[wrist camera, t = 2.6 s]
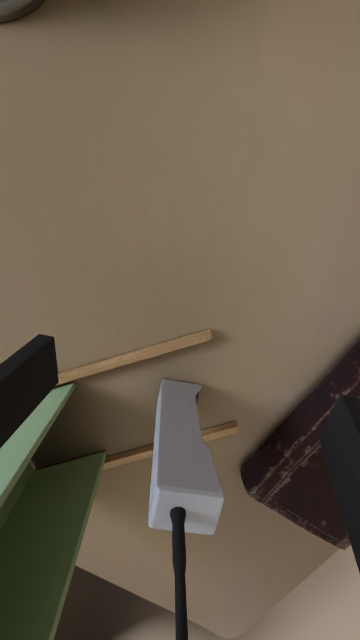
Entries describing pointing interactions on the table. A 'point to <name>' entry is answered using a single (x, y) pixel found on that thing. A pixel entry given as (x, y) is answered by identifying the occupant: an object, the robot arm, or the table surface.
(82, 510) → the tall green pillar
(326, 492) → the diary
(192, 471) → the vintage mobile phone
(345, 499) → the robot arm
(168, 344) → the rails
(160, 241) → the table surface
